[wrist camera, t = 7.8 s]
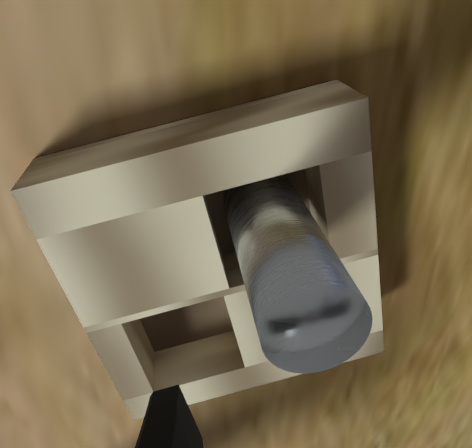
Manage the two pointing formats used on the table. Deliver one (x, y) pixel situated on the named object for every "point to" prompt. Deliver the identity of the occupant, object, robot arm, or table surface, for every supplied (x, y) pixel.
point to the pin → (294, 279)
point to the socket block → (198, 234)
